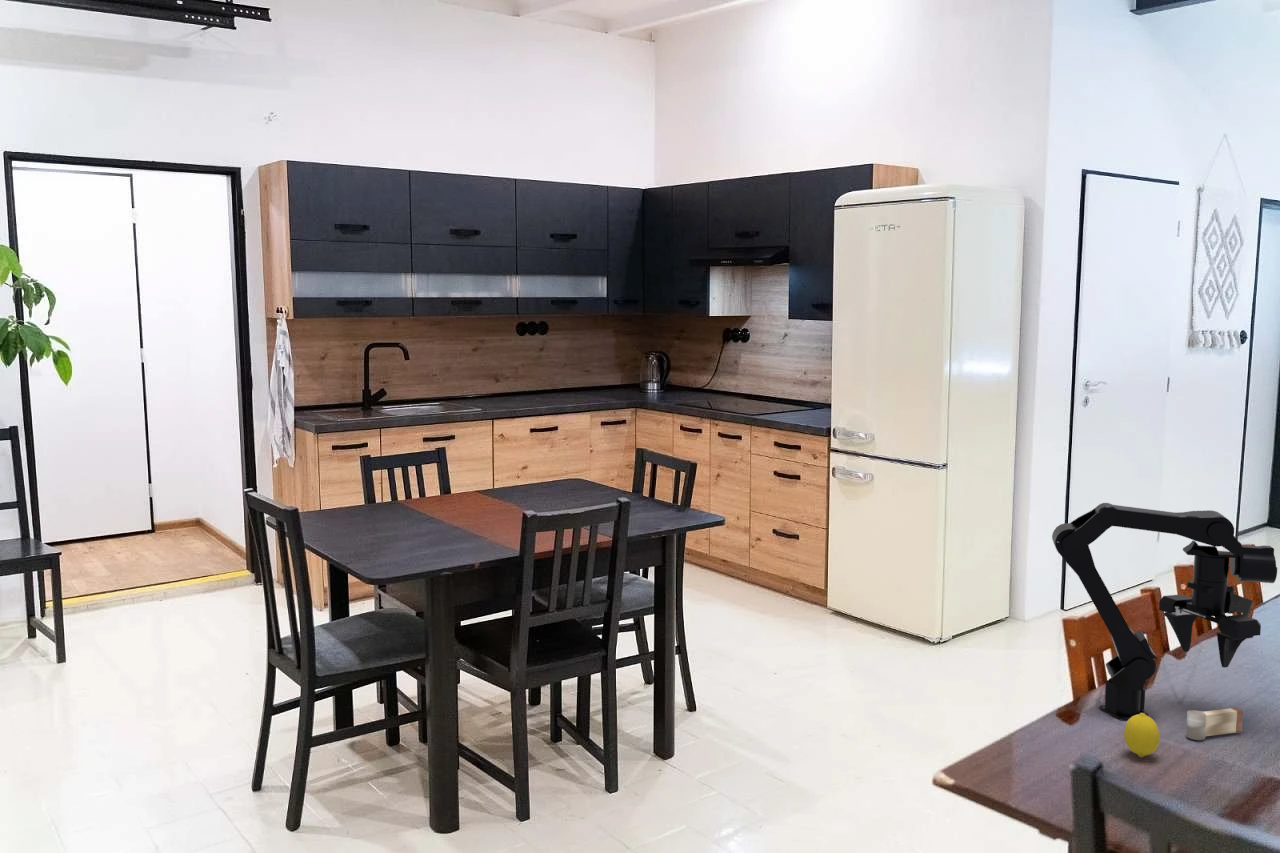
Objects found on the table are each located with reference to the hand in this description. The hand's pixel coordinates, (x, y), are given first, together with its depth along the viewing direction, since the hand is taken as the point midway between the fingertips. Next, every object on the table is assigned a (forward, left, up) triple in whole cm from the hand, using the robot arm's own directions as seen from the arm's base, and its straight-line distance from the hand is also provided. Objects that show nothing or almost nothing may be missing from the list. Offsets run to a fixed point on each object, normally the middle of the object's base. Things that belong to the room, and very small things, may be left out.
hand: (1205, 659), depth 195 cm
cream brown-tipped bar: (-4, -7, -12) cm, 14 cm away
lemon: (-23, -11, -12) cm, 28 cm away
